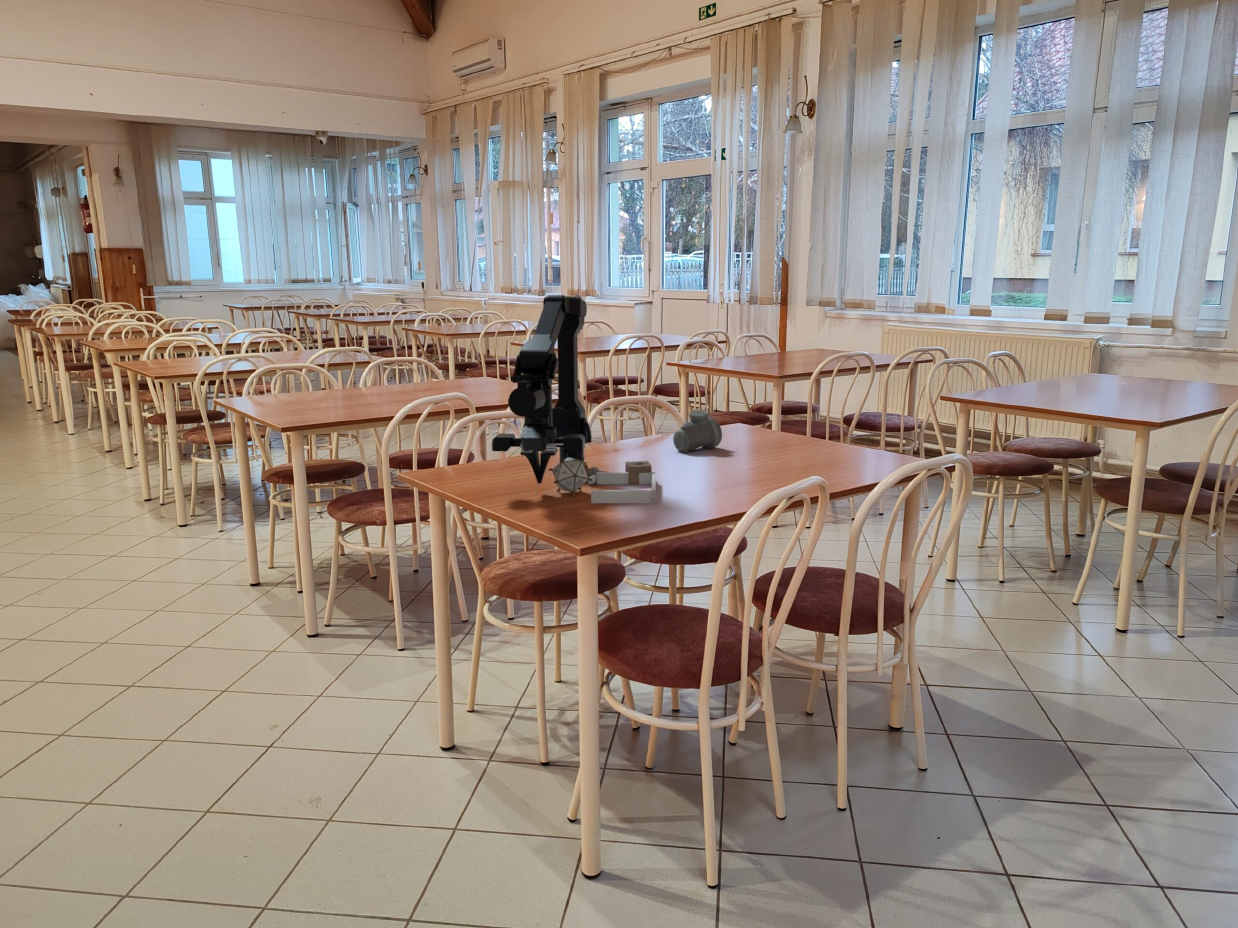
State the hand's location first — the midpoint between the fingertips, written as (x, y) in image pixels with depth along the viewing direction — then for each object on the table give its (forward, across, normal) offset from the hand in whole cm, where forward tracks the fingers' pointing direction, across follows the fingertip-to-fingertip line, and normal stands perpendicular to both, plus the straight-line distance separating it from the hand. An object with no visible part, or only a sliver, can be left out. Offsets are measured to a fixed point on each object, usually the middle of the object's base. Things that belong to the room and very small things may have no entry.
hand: (539, 483), depth 182 cm
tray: (+2, +17, 0) cm, 18 cm away
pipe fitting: (+2, +34, +46) cm, 57 cm away
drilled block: (+2, +20, +10) cm, 23 cm away
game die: (+2, +6, 0) cm, 7 cm away
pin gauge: (+2, +10, +10) cm, 15 cm away
